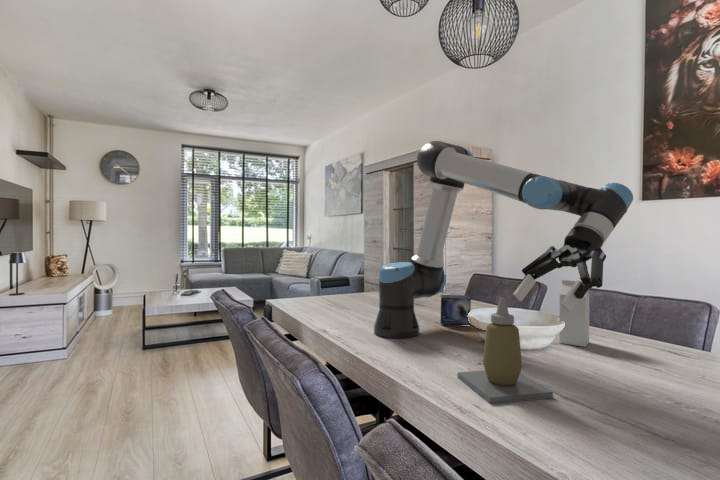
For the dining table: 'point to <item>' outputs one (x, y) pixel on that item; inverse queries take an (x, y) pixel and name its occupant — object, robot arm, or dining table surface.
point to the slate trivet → (504, 388)
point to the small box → (455, 309)
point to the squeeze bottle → (502, 348)
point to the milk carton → (574, 318)
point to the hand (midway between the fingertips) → (539, 302)
